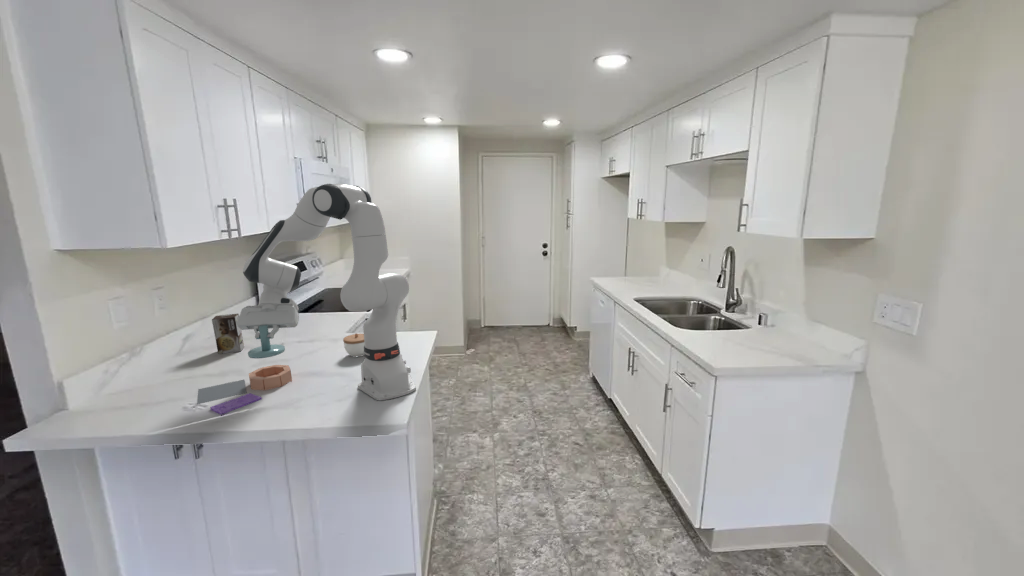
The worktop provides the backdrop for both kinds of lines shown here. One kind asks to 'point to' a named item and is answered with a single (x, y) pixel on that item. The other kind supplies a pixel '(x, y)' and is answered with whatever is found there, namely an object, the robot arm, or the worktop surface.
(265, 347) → the lid
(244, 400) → the sponges
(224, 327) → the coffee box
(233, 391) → the mat
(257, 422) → the worktop surface
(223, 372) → the worktop surface
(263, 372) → the bowl
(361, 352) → the lidded jar
